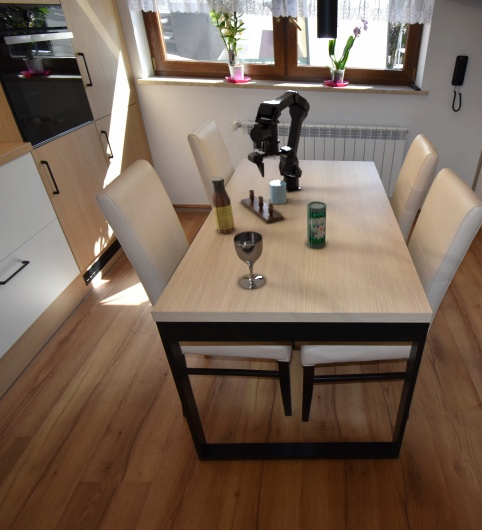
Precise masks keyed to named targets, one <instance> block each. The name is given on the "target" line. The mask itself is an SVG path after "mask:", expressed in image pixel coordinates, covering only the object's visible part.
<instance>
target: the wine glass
mask: <svg viewBox="0 0 482 530" xmlns="http://www.w3.org/2000/svg"><path fill="white" fill-rule="evenodd" d="M263 239H264V238H263V234H261V233H259V232H257V231H251V230H248V231H246V230H245V231H241V232H239V233H237V234H236V235H234V236H233V245H234V251H235V253H236V256H237V257H238V258H239V260H240V261H242V262H243V263H245V264H246V266H248V270H249V275H246V276H243V278H241V280H240V281H239V284H240V286H241V287H242V288H244V289H249V290H251V289H252V290H253V289H258V288H261V287H262V286H263V285H264V284H265V278H263V276H261V275H259V274H254V265H255V264H256V262H257V261H258V260H259V259H260V258H261V257H262V253H263V250H264V248H263V247H264V240H263Z"/></svg>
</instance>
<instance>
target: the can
mask: <svg viewBox="0 0 482 530" xmlns="http://www.w3.org/2000/svg"><path fill="white" fill-rule="evenodd" d="M306 229H307V231H306V232H307V233H306V236H307V237H306V238H307V241H306V244H307V246H308V248H311V249H317V250H319V249H322V248H324V247H325V246H326V240H327V239H326V235H327V234H326V233H327V230H326V229H327V204H326V203H325V202H323V201H318V200H314V201H310V202H308V203H307V206H306Z"/></svg>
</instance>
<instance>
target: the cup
mask: <svg viewBox="0 0 482 530" xmlns="http://www.w3.org/2000/svg"><path fill="white" fill-rule="evenodd" d="M287 193H288V191H287V190H286V182H284V181H283V180H279V179H277V180H272V181H270V182H269V198H270V203H272V204H273V205H282V204H285V203H287V201H288V198H287V197H288V194H287Z"/></svg>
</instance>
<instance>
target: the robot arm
mask: <svg viewBox="0 0 482 530" xmlns="http://www.w3.org/2000/svg"><path fill="white" fill-rule="evenodd" d="M310 107H311V105H310V103H309V101H308V100H307V99H306V98H305V97H304V96H302V95H301V94H300V93H299V92H298V91H293V90H286V91H285V92H284V93H283V94H281V95H280V96H278V97H276V98H275V99H273V100H267V101H263V102H261V103H260V104H259V106H258V109H257V112H256V116H255V119H254V124H253V127H252V128H251V129H250V131H249V138H250V140H251V141H252V144H253V145H252V146H253V150H258V151H254V152H249V153H248V154H247V160H248V161H250V162H251V163H253V164H255V165H256V167H257V169H258V171H259V173H260V176H261V177H262V178H263V179H265V162H264V159H270V158H275V157H279V163H278V171H279V174H280V176H281V177H283V178H282V181H284V182H286V190H287V193H291V192H294V191H299V190H301V189H302V188H301V187H300V181H299V180H300V179H301V178H302V176H303V175H302V174H303V170H302V169H301V167H300V166H299V165H300V161H299V159H298V158H299V157H298V150H299V144H300V138H301V132H302V128H303V122H304V121H305V120H306V119H307V118H308V115H309V112H310V109H311V108H310ZM287 108H289V109H288V113H289V117H290V119H291V120H290V125H289V132H288V136H287V137H288V138H287V143H286V146H282V147H280V146H279V144H281V140H280V139H279V129H278V128H279V126H278V125H279V124H280V123H281V122H280V120H279V118H280V117H281V116H282V111H284V110H285V109H287ZM260 152H262V153H260Z"/></svg>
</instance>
